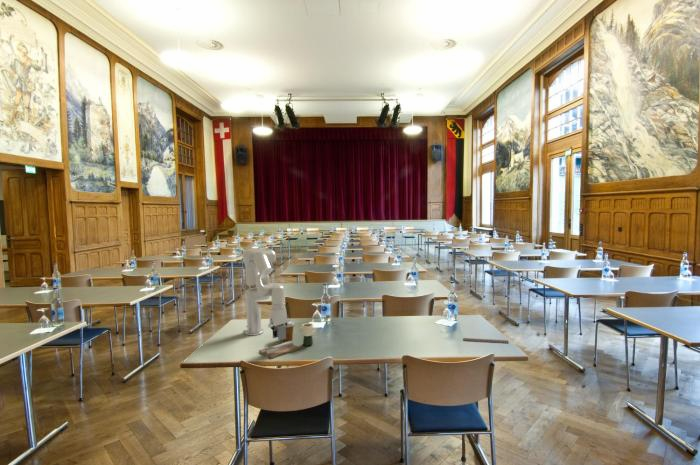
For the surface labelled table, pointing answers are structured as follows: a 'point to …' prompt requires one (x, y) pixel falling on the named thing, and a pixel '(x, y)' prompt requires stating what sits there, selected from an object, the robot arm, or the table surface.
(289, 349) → the rail board
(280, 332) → the block
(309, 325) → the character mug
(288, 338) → the disposable coffee cup
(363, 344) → the table surface
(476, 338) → the metal rod
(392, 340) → the table surface
